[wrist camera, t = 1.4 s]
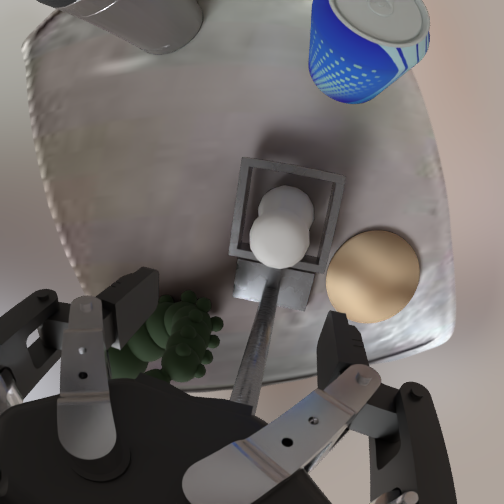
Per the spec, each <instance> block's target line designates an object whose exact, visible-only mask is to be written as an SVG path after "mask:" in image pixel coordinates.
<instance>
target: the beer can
mask: <svg viewBox="0 0 504 504" xmlns="http://www.w3.org/2000/svg"><path fill="white" fill-rule="evenodd" d="M429 28H430V18H429V14H428V11H427V9H426V6H425V5H424V3H423V1H422V0H313V3H312V15H311V33H310V49H309V72H310V75H311V77H312V79H313V81H314V83H315V84H316V86H317V87H318V88H319V89H320V90H321V91H322V92H323V93H324V94H326V95H327V96H329V97H330V98H332V99H334V100H336V101H339V102H343V103H348V104H359V103H364V102H367V101H369V100H371V99H373V98H374V97H376V96H377V95H378V94H379V93H381V92H382V91H383V90H384V89H386V88H387V87H388V86H389V85H391V84H392V83H393V82H394V81H396V80H397V79H398V78H399V77H401V76H402V75H403V74H405V73H406V72H407V71H408V70H410V69H411V68H412V67H414V66H415V65H416V64H417V63H418V62H420V61H421V60H422V58H423V57H424V56H425V54H426V52H427V50H428V47H429V42H430V34H429Z"/></svg>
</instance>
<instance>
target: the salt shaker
mask: <svg viewBox="0 0 504 504" xmlns="http://www.w3.org/2000/svg"><path fill="white" fill-rule="evenodd" d="M258 216H259V217H258V218H257V219H256V220H254V223H253V225H252V228H251V230H250V248H251V250H252V252H253V253H254V255H255V257H256V258H257V260H259V261H260V262H262V263H263V264H264V265H266V266H267V267H272V268H277V269H283V268H287V267H292V266H294V265H295V264H296V263H297V262H299V261H300V260H301V259H302V258H303V257H304V255H305V253H306V251H307V249H308V247H309V229H310V227H311V225H312V223H313V220H314V207H313V205H312V203H311V201H310V199H309V197H308V195H307V194H305V193H304V192H303V191H301V190H300V189H298V188H296V187H291V186H286V185H283V186H280V187H276V188H273V189H271V190H270V191H269V192H268V193H267V194H265V195H264V196H263V197H262V200H261V202H260V205H259V207H258Z"/></svg>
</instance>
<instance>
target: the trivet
mask: <svg viewBox="0 0 504 504" xmlns="http://www.w3.org/2000/svg"><path fill="white" fill-rule="evenodd" d="M419 272H420V271H419V263H418V259H417V256H416V254H415V252H414V250H413V249H412V247H411V246H410V245H409V244H408V243H407V242H406V241H405V240H404V239H403V238H401V237H400V236H398V235H396V234H394V233H391V232H388V231H383V230H373V231H367V232H363V233H360V234H358V235H356V236H354V237H352V238H350V239H349V240H348V241H346V242H345V243H344V244H343V245H342V246H341V247H340V248H339V249H338V250H337V251H336V253H335V254H334V256H333V257H332V259H331V261H330V263H329V267H328V270H327V275H326V288H327V293H328V296H329V299H330V301H331V303H332V305H333V306H334V308H335V309H336V310H337V311H338V312H341V313H346V316H347V319H349V320H352V321H355V322H359V323H376V322H380V321H384V320H386V319H389V318H391V317H392V316H394V315H396V314H397V313H399V312H400V311H401V310H402V309H403V308H404V307H405V306H406V305H407V304H408V303H409V301H410V300H411V298H412V297H413V295H414V293H415V291H416V289H417V285H418V281H419Z"/></svg>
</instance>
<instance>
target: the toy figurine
mask: <svg viewBox="0 0 504 504" xmlns="http://www.w3.org/2000/svg"><path fill="white" fill-rule="evenodd" d="M181 301H182V302H177V303H174V301H173V299H172V297H171V296H169V295H163V296H161V297H160V299H159V301H158V305H157V308H156V310H155V311H154V312H153V314H152V315H151V316H150V317H149V318H148V319H147V320H146V321H145V323H144V324H143V325H142V326H141V327H140V328H139V329H138V330H137V332H136V333H135V334H134V335H133V336H132V337H131V338H130V340H129V341H128V342H127V343H126V344H125V345H124V346H123V348H122V349H121V350H119V349H117V348H114V347H112V346H111V347H110V348H109V349H108V351H109V358H110V365H111V372H112V379H117V378H130V379H136V378H137V376H138V375H139V373H140V372H141V373H144V372H145V370H146V368H147V365H148V362H151V361H155V360H157V359H159V358H161V357H162V361H161V365H162V369H161V370H159V369H153V370H149V371H147V372H145V373H144V374H147V375H149V376H152V377H155V378H157V379H160V380H163V381H166V382H168V383H169V384H170V381H171V380H173V381H176V382H187V381H189V380H191V379H193V378H194V377H196V378H201V377H203V376H204V375H205V373H206V369H205V367H204V365H205V364H210V363H211V362H212V360H213V356H212V353H211V352H210V351H209V350H206V348H207V347H209V348H216V347H218V345H219V343H220V340H219V338H218V336H216V335H211V332H212V331H215V332H217V331H220V330H221V329H222V328H223V320H222V319H221V318H220V317H217V316H215V317H212V318H210V316H209V314H208V313H207V312H208V311H209V310H210V309H211V302H210V300H209V299H207V298H205V297H203V298H199V299H198V300H197V297H196V295H195V293H194V292H193V291H191V290H188V291H185V292H184V293H182V295H181ZM196 301H197V302H196ZM195 303H196V306H195V305H194V304H195ZM201 363H202V364H204V365H202V364H201Z"/></svg>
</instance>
